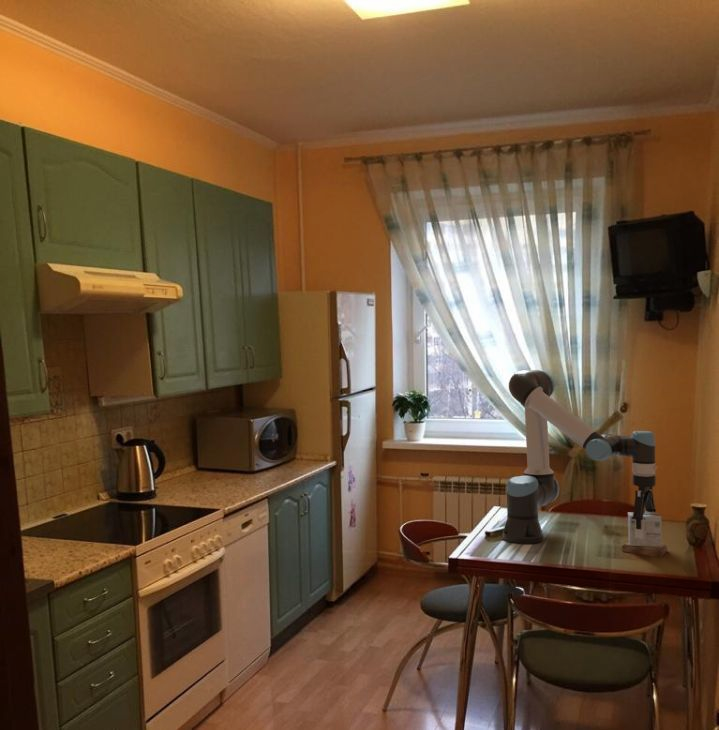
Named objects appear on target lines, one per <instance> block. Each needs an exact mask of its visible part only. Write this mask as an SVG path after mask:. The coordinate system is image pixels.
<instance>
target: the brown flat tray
mask: <svg viewBox="0 0 719 730" xmlns="http://www.w3.org/2000/svg"><path fill="white" fill-rule="evenodd" d="M621 548H622V549H621V551H622V552H624V553H625V552H626V553H633V554H637V555H643V556H650V557H656V558H657V557H658V558H662V557H663V556H664V555H665V554H666V553H667V552H668V545H666V543H665V544H664V543H662V547H650V546H631V545H630V543H629V541H628V540H627V541H626V542H625V543H623V544H622V546H621Z"/></svg>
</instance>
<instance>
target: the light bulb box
mask: <svg viewBox="0 0 719 730" xmlns="http://www.w3.org/2000/svg"><path fill="white" fill-rule="evenodd" d="M633 513H634V512H631V511H630V512H629V511H628V512H627V532H628V535H627V536H628V537H627V538H628V540H627V541H629V543H630V545H631V546H650V547H662V544H663V539H662V538H663V536H662V535H663V534H662V531H663V529H662V525H663V524H662V516H661V515H660V514H659V513H656V512H653V513H645V512H644V514H643V519H642V520H644V539H641V538H635V519H632V516H633ZM638 516H639V515H638Z"/></svg>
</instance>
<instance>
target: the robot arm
mask: <svg viewBox="0 0 719 730" xmlns="http://www.w3.org/2000/svg"><path fill="white" fill-rule="evenodd" d="M508 390H509V393H510V396H512V397H513V398H514V399H515V400H516V401H517V402H518V403H519V404H520V405H521V406H522V407H523V409H524V420H525V421H524V422H525V424H524V425H525V438H526V439H525V442H526V462H527V467H526V469H525V470H524V471H523V475H520V476H513V477H510V478H508V480H507V483H506V514H507V516H506V521H505V524H504V528H503V531H502V539H503V540H504V541H505V542H509V543H513V544H521V545H533V544H539V543H542V542H543V541H544V533H543V529H542V527H541V523H540V521H539V508H541V507H544V506H548V505H550V504H552V503H553V502H554V501H556V499H557V498H558V496H559V493H560V484H559V482H558V480H557V479H556V477H555V473H554V472H555V471H554V470H553V469H552V468H551V467H550V451H549V449H550V447H549V445H550V444H549V429H548V427H549V426H548V423H550V424H551V425H553V426H554V428H557V429H558V430H559V431H560V432H562V433H563V434H564V435H565V436H567V437H569V438H570V439H571V440H572V441H573V442H575V443H576V444H577V445H578V446H580V447H581V448H582V449H584V450H585V453H586V455H587V457H588V458H589V459H591V460H592V461H599V462H600V461H605V460H608V459H611V458H615V457H628V458H629V457H630V458H632V473H633V475H632V485H633V486H636V487H638V490H635V493H634V494H635V495H634V507H633V512H632V513H633V516H632V519H635V538H641V539H644V520H642V519H643V514H644V513H656V511H657V508H656V504H655V498H654V497H655V496H654V492H653V491H654V490H653V489H654V487H656V476H655V474H656V469H658V466H657V465H656V446H657V445H656V437H655V433H654V432H652V431H650V430H649V431H647V430H634V431H633V432H632V434H631V435H619V434H618V435H617V434H612V433H611V434H609V433H608V434H600V433H599V432H598V431H596V430H595V429H593V428H592V427H591V426H590V425H588V424H587V423H585V421H583V420H582V419H580V418H579V417H577V416H576V415H574V414H573V413H572V412H571V411H569V410H568V409H567V408H565V407H564V406H563V405H561V404H560V403H559V402H557V400H555V399H553V398H552V397H551V396H552V395H553V393H554V391H555V382H554V379H553V377H552V376H551V375H550V374H549V373H548V372H547V371H545V370H540V369H539V370H538V369H535V370H532V369H531V370H520V371H517V372H515V373H514V374H513V375H512V376H511V377H510V379H509V381H508ZM638 515H639V516H638Z"/></svg>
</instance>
